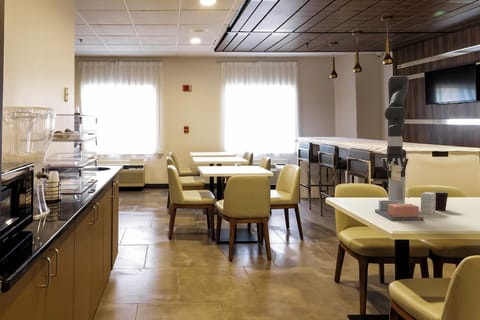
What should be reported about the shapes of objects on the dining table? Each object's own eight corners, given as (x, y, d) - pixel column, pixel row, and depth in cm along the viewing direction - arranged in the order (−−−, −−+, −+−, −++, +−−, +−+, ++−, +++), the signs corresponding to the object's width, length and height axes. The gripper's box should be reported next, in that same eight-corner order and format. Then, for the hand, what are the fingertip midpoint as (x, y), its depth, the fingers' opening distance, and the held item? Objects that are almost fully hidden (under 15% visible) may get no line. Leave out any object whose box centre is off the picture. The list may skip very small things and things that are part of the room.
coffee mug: (443, 211, 237) (443, 193, 236) (427, 209, 243) (428, 191, 243) (453, 209, 244) (453, 191, 243) (437, 207, 251) (438, 190, 250)
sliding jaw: (387, 213, 224) (387, 203, 223) (410, 213, 224) (410, 203, 224) (394, 217, 214) (394, 207, 214) (418, 216, 215) (418, 206, 214)
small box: (424, 210, 240) (425, 191, 239) (435, 212, 236) (436, 192, 236) (420, 212, 234) (420, 193, 233) (431, 214, 230) (431, 194, 229)
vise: (374, 212, 237) (375, 200, 236) (404, 211, 237) (404, 199, 237) (391, 220, 213) (391, 207, 213) (423, 220, 214) (423, 207, 213)
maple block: (388, 179, 232) (388, 164, 232) (396, 179, 232) (397, 164, 232) (392, 180, 227) (392, 165, 227) (400, 180, 227) (400, 165, 227)
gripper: (405, 145, 233) (404, 177, 234) (378, 145, 232) (378, 177, 233) (411, 145, 225) (410, 178, 226) (384, 145, 225) (383, 178, 226)
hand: (394, 177), depth 230 cm, fingers closed on maple block, 4 cm apart
